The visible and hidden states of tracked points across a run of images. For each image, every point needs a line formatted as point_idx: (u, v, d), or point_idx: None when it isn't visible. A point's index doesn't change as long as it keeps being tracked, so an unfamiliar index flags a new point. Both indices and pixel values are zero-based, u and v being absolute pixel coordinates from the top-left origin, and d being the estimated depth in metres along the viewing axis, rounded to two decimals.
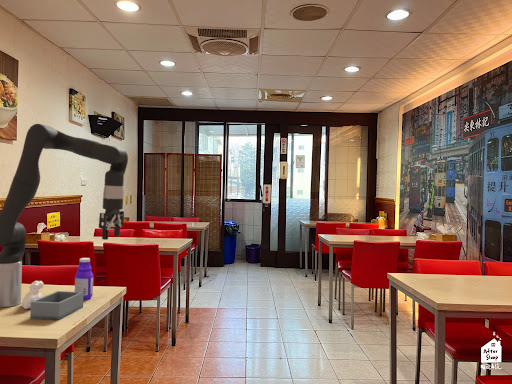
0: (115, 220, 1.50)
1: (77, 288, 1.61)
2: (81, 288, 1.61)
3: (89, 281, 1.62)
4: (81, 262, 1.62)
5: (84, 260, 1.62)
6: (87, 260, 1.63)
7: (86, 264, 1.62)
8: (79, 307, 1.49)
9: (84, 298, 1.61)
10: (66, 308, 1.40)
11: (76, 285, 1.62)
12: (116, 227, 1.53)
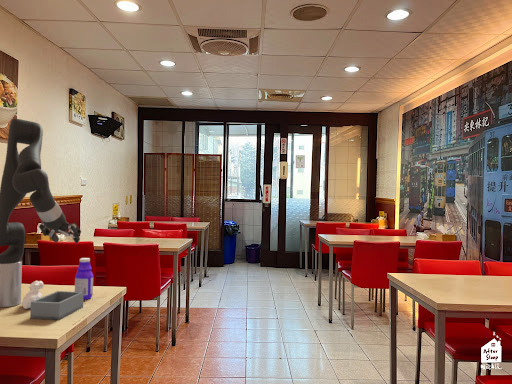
0: (61, 232, 1.45)
1: (77, 288, 1.61)
2: (81, 288, 1.61)
3: (89, 281, 1.62)
4: (81, 262, 1.62)
5: (84, 260, 1.62)
6: (87, 260, 1.63)
7: (86, 264, 1.62)
8: (79, 307, 1.49)
9: (84, 298, 1.61)
10: (66, 308, 1.40)
11: (76, 285, 1.62)
12: None
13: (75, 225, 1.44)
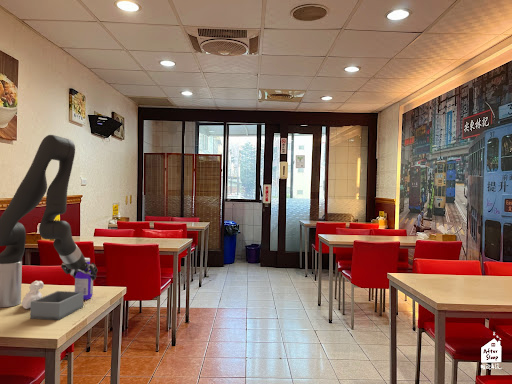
0: (79, 270, 1.59)
1: (77, 288, 1.61)
2: (81, 288, 1.61)
3: (89, 281, 1.62)
4: None
5: None
6: (87, 260, 1.63)
7: None
8: (79, 307, 1.49)
9: (84, 298, 1.61)
10: (66, 308, 1.40)
11: (76, 285, 1.62)
12: None
13: (93, 265, 1.58)
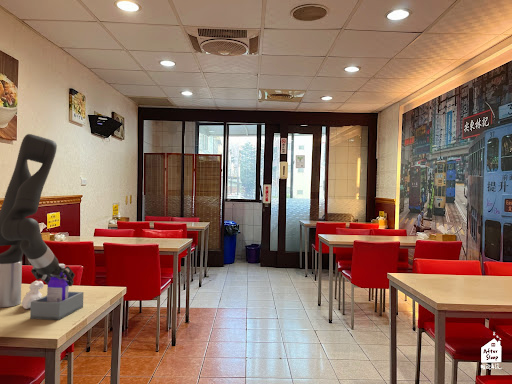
0: None
1: (49, 298, 1.41)
2: (54, 298, 1.41)
3: (63, 290, 1.42)
4: None
5: None
6: (61, 266, 1.43)
7: None
8: (79, 307, 1.49)
9: None
10: (66, 308, 1.40)
11: (48, 295, 1.41)
12: None
13: (68, 269, 1.38)
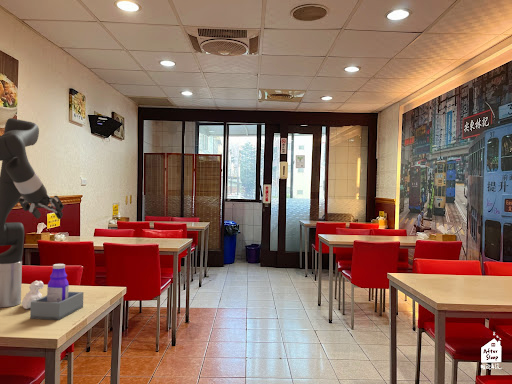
0: (41, 206, 1.35)
1: (49, 299, 1.41)
2: (54, 298, 1.41)
3: (63, 290, 1.42)
4: (54, 269, 1.42)
5: (58, 266, 1.42)
6: (61, 266, 1.43)
7: (60, 271, 1.42)
8: (79, 307, 1.49)
9: None
10: (66, 308, 1.40)
11: (48, 295, 1.41)
12: None
13: (57, 199, 1.34)
